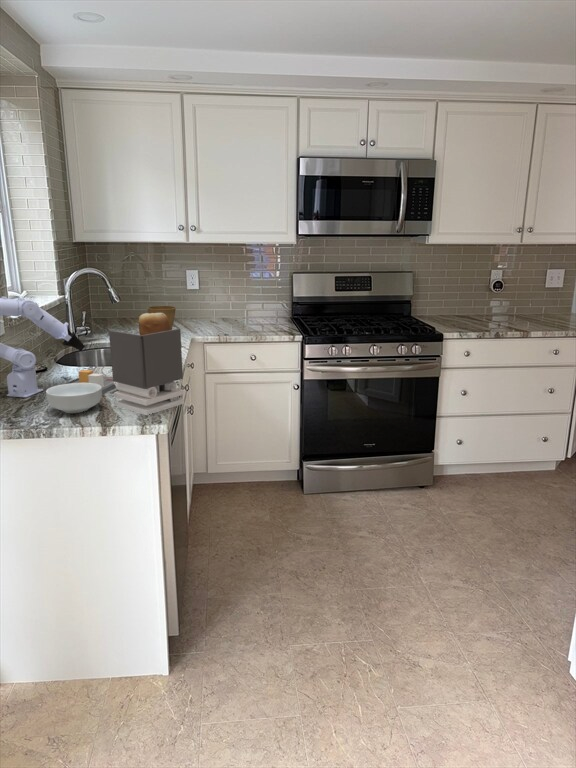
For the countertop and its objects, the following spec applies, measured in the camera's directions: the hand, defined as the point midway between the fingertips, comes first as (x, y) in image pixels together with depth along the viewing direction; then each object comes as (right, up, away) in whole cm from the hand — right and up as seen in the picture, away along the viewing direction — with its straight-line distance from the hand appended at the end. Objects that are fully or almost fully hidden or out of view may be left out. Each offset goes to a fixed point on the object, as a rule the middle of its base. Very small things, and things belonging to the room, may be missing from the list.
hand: (80, 345), depth 209 cm
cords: (+7, -15, +1) cm, 16 cm away
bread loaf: (+26, -11, +15) cm, 32 cm away
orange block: (+4, -14, -3) cm, 15 cm away
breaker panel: (+6, -16, -3) cm, 17 cm away
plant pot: (+9, +11, +97) cm, 98 cm away
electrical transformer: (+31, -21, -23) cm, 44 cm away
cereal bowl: (+9, -23, -28) cm, 37 cm away
